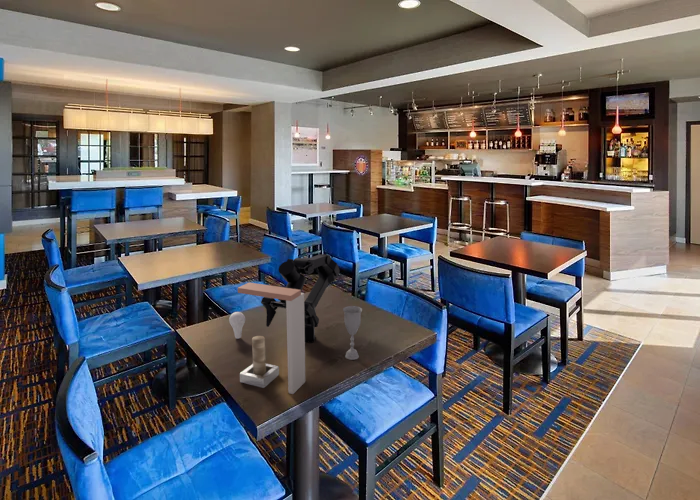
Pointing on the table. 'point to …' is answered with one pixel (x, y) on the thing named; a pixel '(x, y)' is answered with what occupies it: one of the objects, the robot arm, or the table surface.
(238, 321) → the lightbulb
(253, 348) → the peg
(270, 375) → the socket
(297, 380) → the inverted l-shaped panel
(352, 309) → the chalice
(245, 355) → the table surface
